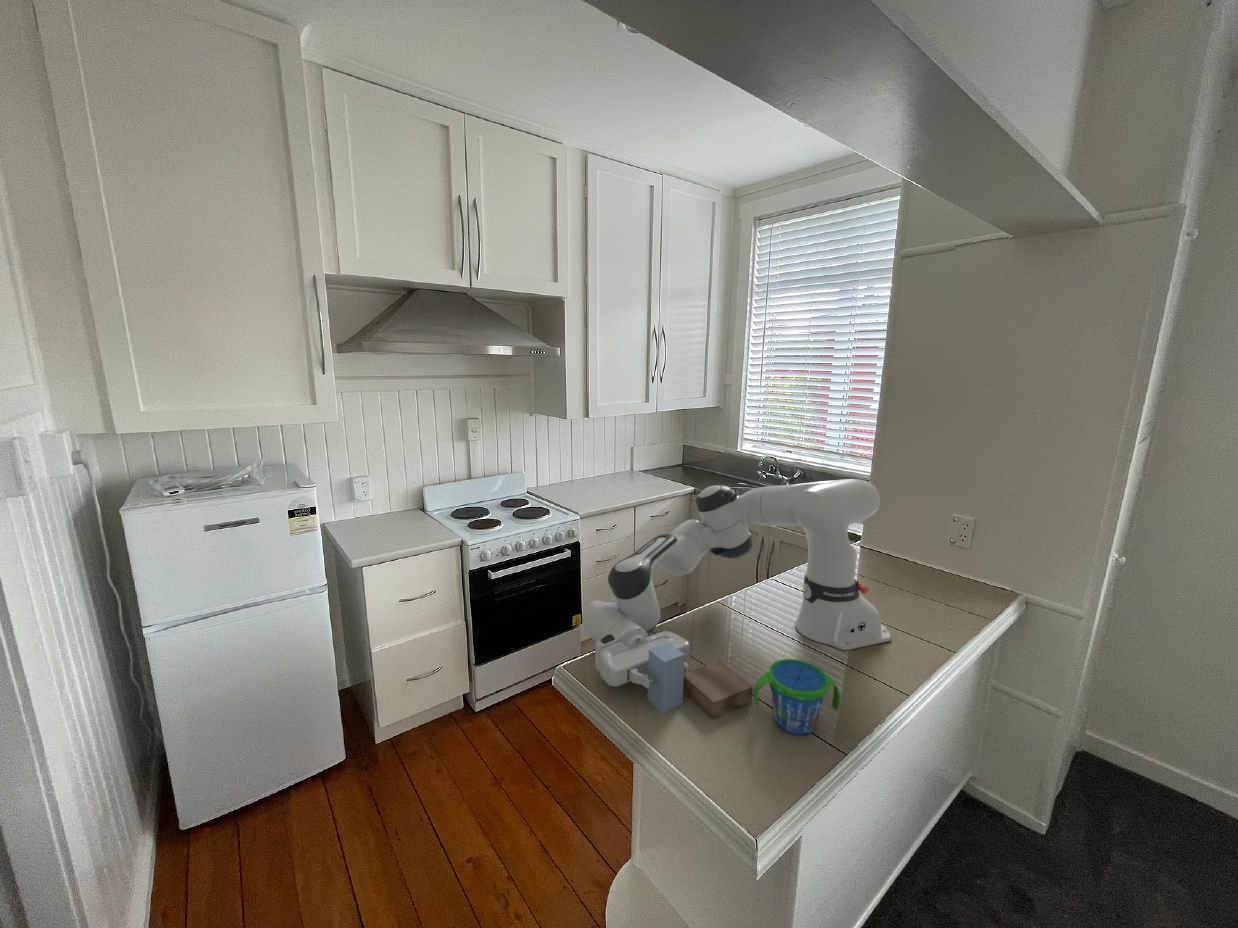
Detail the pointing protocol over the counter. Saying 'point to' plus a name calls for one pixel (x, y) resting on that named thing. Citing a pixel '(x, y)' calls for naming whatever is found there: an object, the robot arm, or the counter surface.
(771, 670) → the snack cup
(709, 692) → the walnut base
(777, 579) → the counter surface
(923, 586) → the counter surface
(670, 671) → the pillar
